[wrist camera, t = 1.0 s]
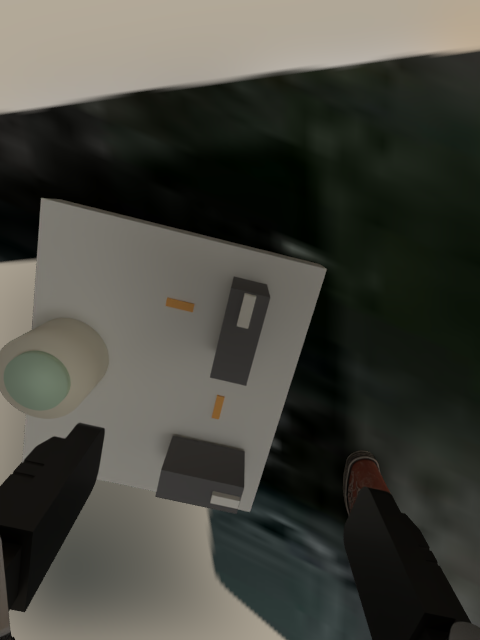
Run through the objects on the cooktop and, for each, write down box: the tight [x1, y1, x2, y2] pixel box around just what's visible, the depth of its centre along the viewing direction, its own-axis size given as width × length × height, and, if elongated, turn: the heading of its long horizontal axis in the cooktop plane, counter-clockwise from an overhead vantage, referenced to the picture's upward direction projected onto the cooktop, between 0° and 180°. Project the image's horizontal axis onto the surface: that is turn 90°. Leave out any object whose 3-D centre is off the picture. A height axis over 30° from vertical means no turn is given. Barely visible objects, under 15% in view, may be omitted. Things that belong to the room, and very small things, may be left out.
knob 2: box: [156, 436, 245, 514], centre depth 27 cm, size 2×6×4 cm, turn 76°
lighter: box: [343, 451, 391, 516], centre depth 28 cm, size 8×3×10 cm, turn 6°
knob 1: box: [210, 276, 270, 386], centre depth 23 cm, size 2×6×4 cm, turn 166°
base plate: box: [0, 198, 327, 512], centre depth 26 cm, size 20×22×7 cm
